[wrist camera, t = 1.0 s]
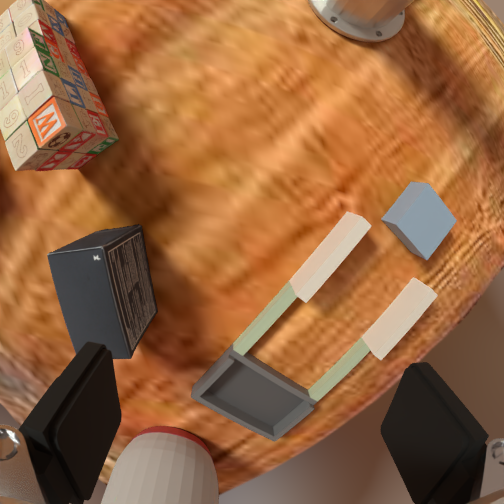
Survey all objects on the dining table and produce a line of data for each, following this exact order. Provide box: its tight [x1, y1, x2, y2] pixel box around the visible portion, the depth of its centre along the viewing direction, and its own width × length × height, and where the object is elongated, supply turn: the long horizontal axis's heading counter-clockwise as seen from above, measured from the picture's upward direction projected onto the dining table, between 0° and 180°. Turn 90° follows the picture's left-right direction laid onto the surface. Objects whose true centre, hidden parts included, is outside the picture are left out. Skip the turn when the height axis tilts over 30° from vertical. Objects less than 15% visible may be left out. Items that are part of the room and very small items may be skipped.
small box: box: [47, 224, 158, 359], centre depth 29 cm, size 11×6×10 cm, turn 6°
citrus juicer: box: [101, 426, 219, 504], centre depth 32 cm, size 16×17×20 cm
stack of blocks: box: [0, 0, 119, 171], centre depth 23 cm, size 21×6×12 cm, turn 28°
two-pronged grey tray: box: [191, 211, 438, 441], centre depth 35 cm, size 29×14×4 cm, turn 141°
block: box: [381, 182, 457, 260], centre depth 32 cm, size 6×6×4 cm
